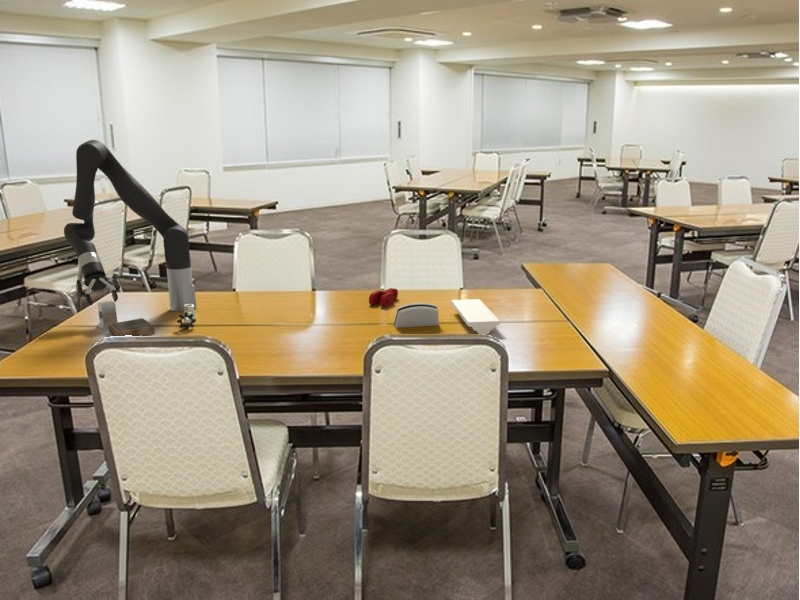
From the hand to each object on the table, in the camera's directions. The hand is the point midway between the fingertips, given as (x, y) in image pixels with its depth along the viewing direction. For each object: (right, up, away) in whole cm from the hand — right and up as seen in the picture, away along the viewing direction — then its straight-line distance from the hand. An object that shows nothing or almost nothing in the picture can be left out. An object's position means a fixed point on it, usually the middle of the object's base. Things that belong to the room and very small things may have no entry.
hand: (103, 302), depth 236 cm
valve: (+31, -9, +3) cm, 32 cm away
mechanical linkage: (+103, -1, +34) cm, 109 cm away
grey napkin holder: (+115, -9, +3) cm, 116 cm away
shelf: (+137, -8, +6) cm, 137 cm away
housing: (+2, -9, 0) cm, 9 cm away
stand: (+13, -11, -7) cm, 19 cm away
